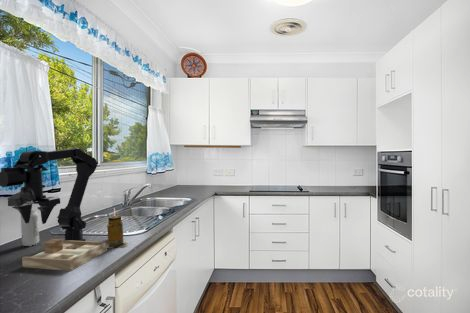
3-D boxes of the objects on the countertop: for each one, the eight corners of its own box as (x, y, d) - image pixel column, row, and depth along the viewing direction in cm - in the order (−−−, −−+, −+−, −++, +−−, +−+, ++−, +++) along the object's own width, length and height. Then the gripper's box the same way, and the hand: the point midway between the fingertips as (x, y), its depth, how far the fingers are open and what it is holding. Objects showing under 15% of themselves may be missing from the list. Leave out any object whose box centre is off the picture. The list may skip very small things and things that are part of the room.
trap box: (65, 248, 112) (64, 240, 112) (106, 250, 108) (106, 242, 108) (22, 267, 94) (22, 257, 94) (70, 270, 90) (69, 260, 90)
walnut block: (54, 248, 105) (53, 238, 105) (62, 249, 104) (62, 239, 104) (44, 252, 101) (44, 242, 101) (53, 253, 100) (53, 242, 100)
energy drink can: (26, 243, 120) (24, 210, 120) (41, 241, 122) (40, 208, 122) (19, 247, 115) (17, 213, 114) (35, 246, 116) (33, 211, 116)
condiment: (110, 242, 118) (109, 215, 117) (130, 241, 119) (129, 214, 118) (104, 248, 110) (103, 219, 110) (125, 247, 111) (124, 218, 111)
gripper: (-9, 186, 97) (-7, 229, 98) (33, 186, 93) (35, 230, 94) (21, 182, 108) (23, 220, 109) (60, 182, 104) (62, 221, 105)
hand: (35, 223), depth 104 cm, fingers open, 8 cm apart
